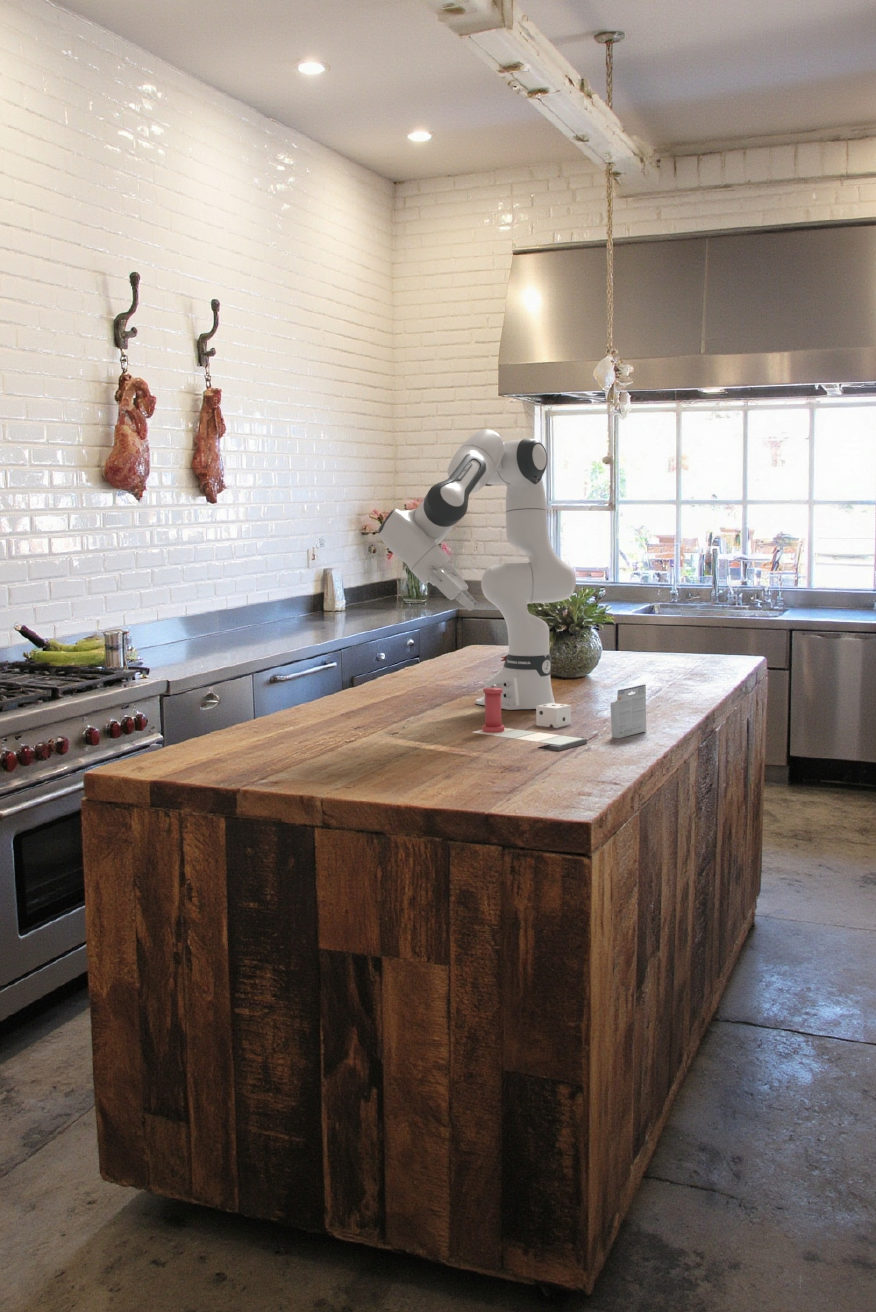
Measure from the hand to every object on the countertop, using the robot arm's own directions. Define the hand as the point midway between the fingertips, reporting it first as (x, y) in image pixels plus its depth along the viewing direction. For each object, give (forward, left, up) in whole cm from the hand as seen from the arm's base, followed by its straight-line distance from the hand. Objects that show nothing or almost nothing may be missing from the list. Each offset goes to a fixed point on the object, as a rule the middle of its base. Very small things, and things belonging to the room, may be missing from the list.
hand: (474, 607), depth 273 cm
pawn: (+5, +1, -29) cm, 29 cm away
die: (+11, +16, -30) cm, 36 cm away
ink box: (+29, +21, -30) cm, 47 cm away
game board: (+14, +1, -30) cm, 34 cm away
